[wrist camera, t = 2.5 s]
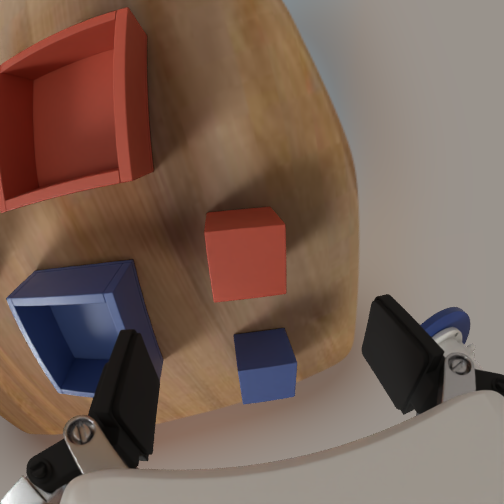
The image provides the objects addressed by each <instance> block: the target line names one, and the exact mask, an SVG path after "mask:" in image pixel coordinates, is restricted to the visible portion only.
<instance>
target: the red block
mask: <svg viewBox="0 0 504 504" xmlns="http://www.w3.org/2000/svg"><path fill="white" fill-rule="evenodd" d="M204 235H205V243H206V251H207V258H208V266H209V273H210V280H211V287H212V293H213V300H214V302H222V301H232V300H241V299H249V298H258V297H266V296H273V295H281V294H286V225H285V223H284V222H283V221H282V220H281V219H280V217H279V216H278V215H277V214H276V213H275V212H274V211H273V209H272V208H271V207H260V208H249V209H238V210H228V211H218V212H208V213H207V214H206V222H205V230H204Z"/></svg>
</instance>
